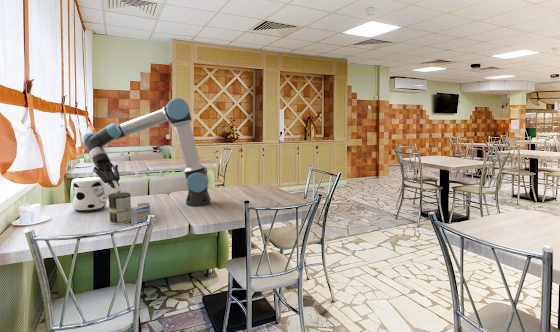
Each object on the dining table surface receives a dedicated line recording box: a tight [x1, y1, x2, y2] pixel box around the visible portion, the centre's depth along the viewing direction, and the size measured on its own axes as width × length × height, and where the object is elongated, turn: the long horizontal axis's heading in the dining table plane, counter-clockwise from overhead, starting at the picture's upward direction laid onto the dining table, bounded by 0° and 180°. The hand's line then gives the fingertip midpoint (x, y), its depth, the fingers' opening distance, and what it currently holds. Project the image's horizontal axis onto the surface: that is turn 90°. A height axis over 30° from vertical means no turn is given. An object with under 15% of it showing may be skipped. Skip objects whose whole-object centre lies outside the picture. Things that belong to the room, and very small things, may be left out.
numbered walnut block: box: [137, 202, 151, 207], centre depth 185 cm, size 6×6×7 cm
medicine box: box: [130, 205, 151, 226], centre depth 172 cm, size 8×4×9 cm, turn 148°
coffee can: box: [107, 191, 132, 225], centre depth 176 cm, size 10×10×14 cm
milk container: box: [72, 176, 108, 212], centre depth 200 cm, size 17×17×18 cm
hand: (118, 192), depth 175 cm, fingers closed
